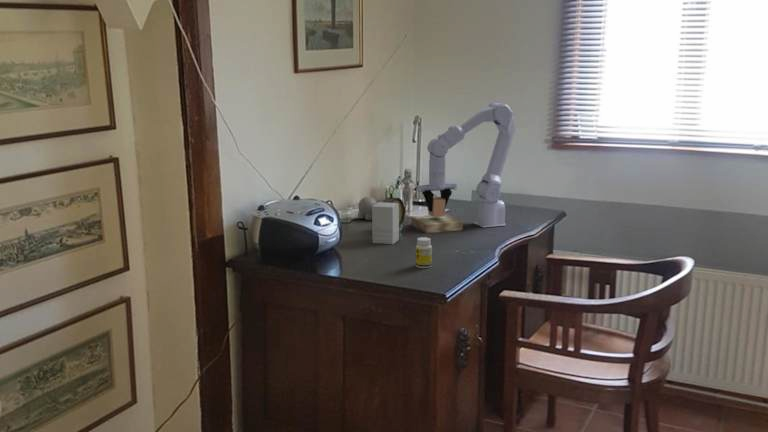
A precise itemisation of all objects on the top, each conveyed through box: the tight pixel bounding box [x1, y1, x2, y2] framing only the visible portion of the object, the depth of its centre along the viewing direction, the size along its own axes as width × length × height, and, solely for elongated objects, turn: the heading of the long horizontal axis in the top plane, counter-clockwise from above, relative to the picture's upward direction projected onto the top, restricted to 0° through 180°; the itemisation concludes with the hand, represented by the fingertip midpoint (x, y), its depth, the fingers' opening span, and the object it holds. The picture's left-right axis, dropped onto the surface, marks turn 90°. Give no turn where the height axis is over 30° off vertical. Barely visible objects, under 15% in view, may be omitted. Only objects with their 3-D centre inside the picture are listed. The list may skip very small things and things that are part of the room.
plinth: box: [410, 213, 464, 234], centre depth 274 cm, size 14×14×3 cm
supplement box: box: [371, 201, 400, 245], centre depth 254 cm, size 7×7×13 cm
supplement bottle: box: [415, 236, 433, 269], centre depth 226 cm, size 5×5×8 cm
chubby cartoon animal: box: [357, 196, 384, 221], centre depth 286 cm, size 7×12×8 cm, turn 60°
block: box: [427, 196, 446, 217], centre depth 273 cm, size 4×4×6 cm
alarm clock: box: [382, 185, 406, 229], centre depth 268 cm, size 11×5×16 cm, turn 148°
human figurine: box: [394, 168, 422, 217], centre depth 293 cm, size 12×4×18 cm, turn 68°
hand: (436, 210), depth 273 cm, fingers closed on block, 4 cm apart
